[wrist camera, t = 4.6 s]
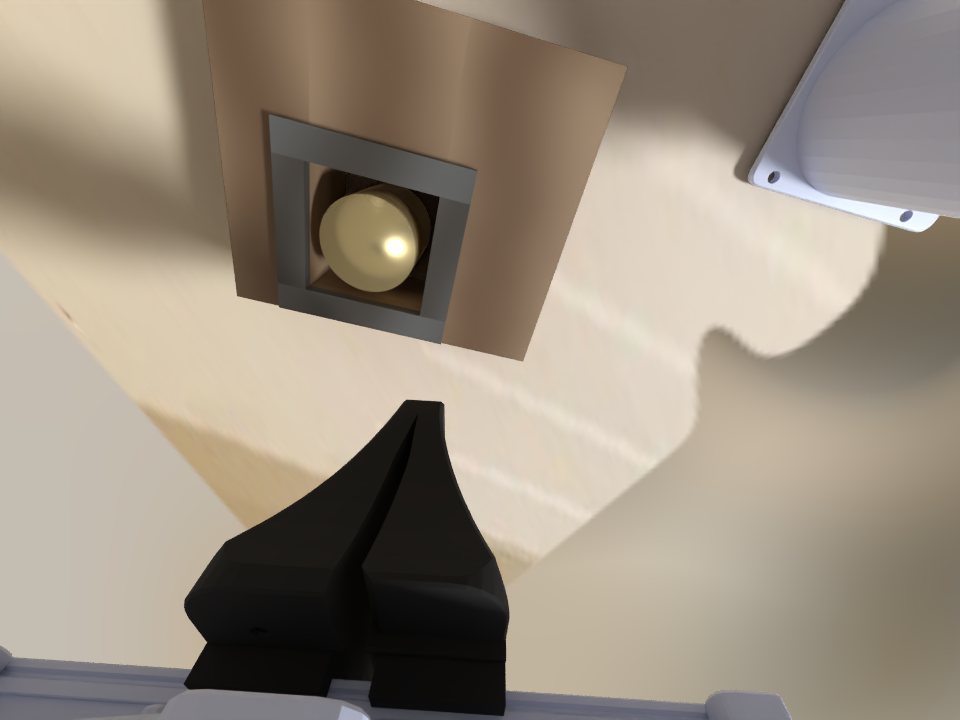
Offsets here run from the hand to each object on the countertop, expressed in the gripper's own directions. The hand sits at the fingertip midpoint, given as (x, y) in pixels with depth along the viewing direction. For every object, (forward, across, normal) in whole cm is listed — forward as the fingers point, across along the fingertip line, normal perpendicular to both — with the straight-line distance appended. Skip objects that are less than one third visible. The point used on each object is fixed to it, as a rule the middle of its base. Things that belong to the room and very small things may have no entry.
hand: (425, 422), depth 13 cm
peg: (+10, +3, -5) cm, 11 cm away
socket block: (+10, +2, -6) cm, 12 cm away
